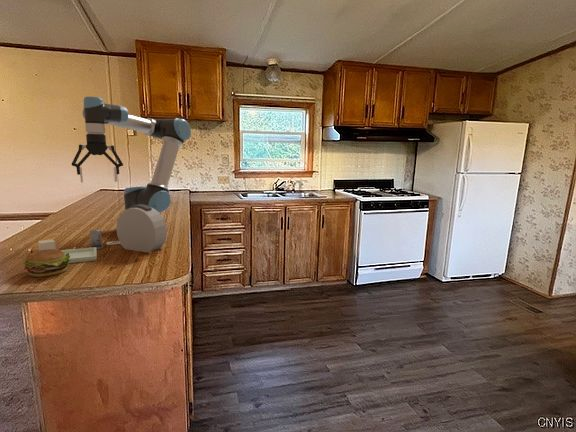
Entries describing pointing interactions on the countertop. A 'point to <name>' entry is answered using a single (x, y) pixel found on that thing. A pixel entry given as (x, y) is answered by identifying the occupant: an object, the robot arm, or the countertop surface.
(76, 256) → the tray
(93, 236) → the metal door knob
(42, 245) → the cream block
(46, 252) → the food
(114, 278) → the countertop surface
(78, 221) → the countertop surface
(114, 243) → the label tile
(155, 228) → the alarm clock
